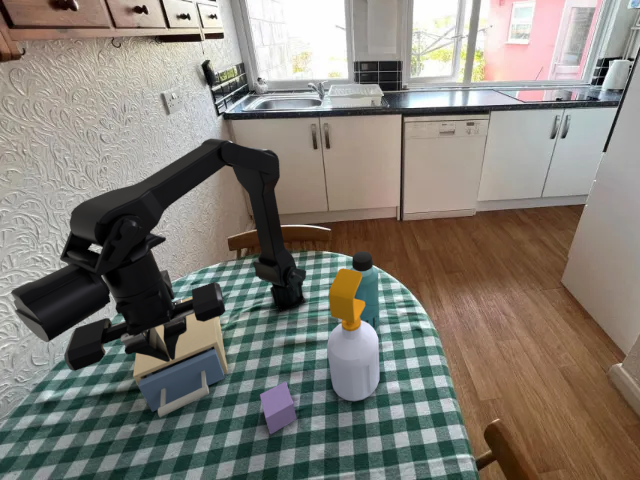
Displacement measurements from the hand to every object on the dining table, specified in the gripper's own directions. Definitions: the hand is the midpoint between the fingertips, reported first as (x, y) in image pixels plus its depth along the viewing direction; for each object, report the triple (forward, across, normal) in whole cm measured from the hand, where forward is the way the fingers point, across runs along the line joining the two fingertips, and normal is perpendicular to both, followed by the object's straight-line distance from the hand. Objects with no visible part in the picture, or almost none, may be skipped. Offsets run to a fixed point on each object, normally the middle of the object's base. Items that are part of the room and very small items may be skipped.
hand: (171, 358), depth 50 cm
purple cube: (+12, -13, +10) cm, 20 cm away
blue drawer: (+11, 0, -6) cm, 13 cm away
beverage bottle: (+12, -34, +2) cm, 36 cm away
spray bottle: (+12, -27, +11) cm, 32 cm away
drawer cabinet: (+12, 0, -11) cm, 16 cm away
